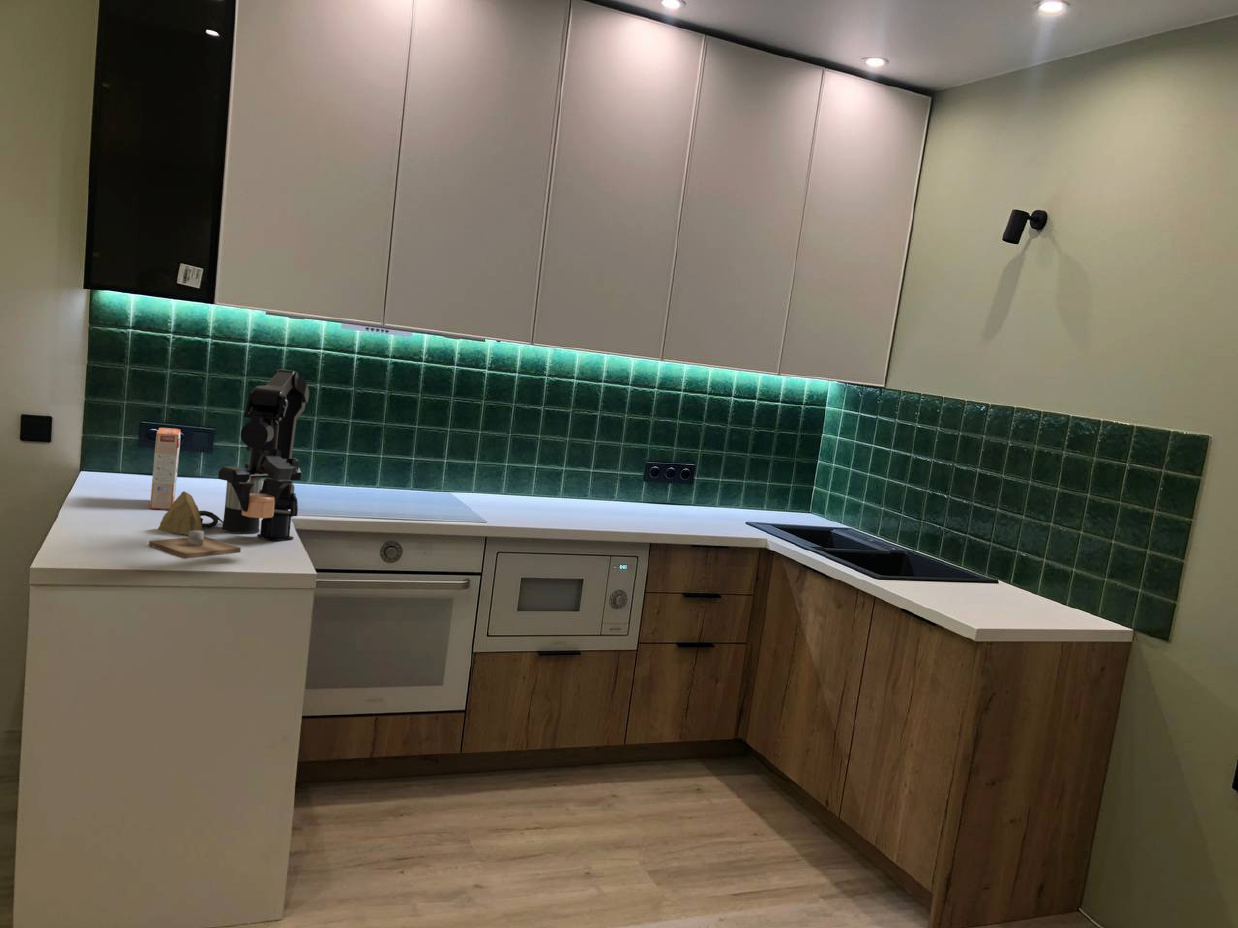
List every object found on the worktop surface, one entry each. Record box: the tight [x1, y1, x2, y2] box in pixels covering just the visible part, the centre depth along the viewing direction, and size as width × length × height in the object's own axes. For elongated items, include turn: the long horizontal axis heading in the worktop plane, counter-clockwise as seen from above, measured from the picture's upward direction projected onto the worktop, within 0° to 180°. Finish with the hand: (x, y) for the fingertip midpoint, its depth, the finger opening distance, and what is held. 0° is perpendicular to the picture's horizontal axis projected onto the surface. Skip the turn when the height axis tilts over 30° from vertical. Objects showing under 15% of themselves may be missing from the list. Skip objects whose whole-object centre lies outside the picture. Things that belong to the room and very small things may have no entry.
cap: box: [242, 493, 275, 519], centre depth 227 cm, size 7×7×4 cm
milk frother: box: [199, 477, 264, 535], centre depth 253 cm, size 14×16×15 cm
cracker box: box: [149, 427, 181, 511], centre depth 273 cm, size 14×6×21 cm, turn 22°
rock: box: [157, 491, 203, 536], centre depth 243 cm, size 11×9×10 cm
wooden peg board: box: [148, 530, 241, 559], centre depth 229 cm, size 14×14×4 cm
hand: (258, 510), depth 228 cm, fingers closed on cap, 7 cm apart
